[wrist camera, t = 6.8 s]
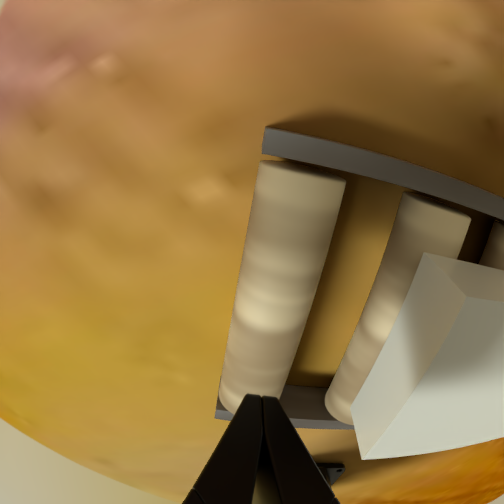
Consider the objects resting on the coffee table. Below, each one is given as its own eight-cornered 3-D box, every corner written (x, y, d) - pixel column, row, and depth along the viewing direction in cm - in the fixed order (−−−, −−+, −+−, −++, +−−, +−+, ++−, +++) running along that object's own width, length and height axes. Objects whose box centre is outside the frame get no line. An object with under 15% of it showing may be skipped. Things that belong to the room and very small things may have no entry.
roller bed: (520, 388, 18) (535, 411, 15) (219, 385, 17) (213, 427, 14) (594, 245, 13) (619, 263, 10) (265, 126, 11) (266, 129, 9)
